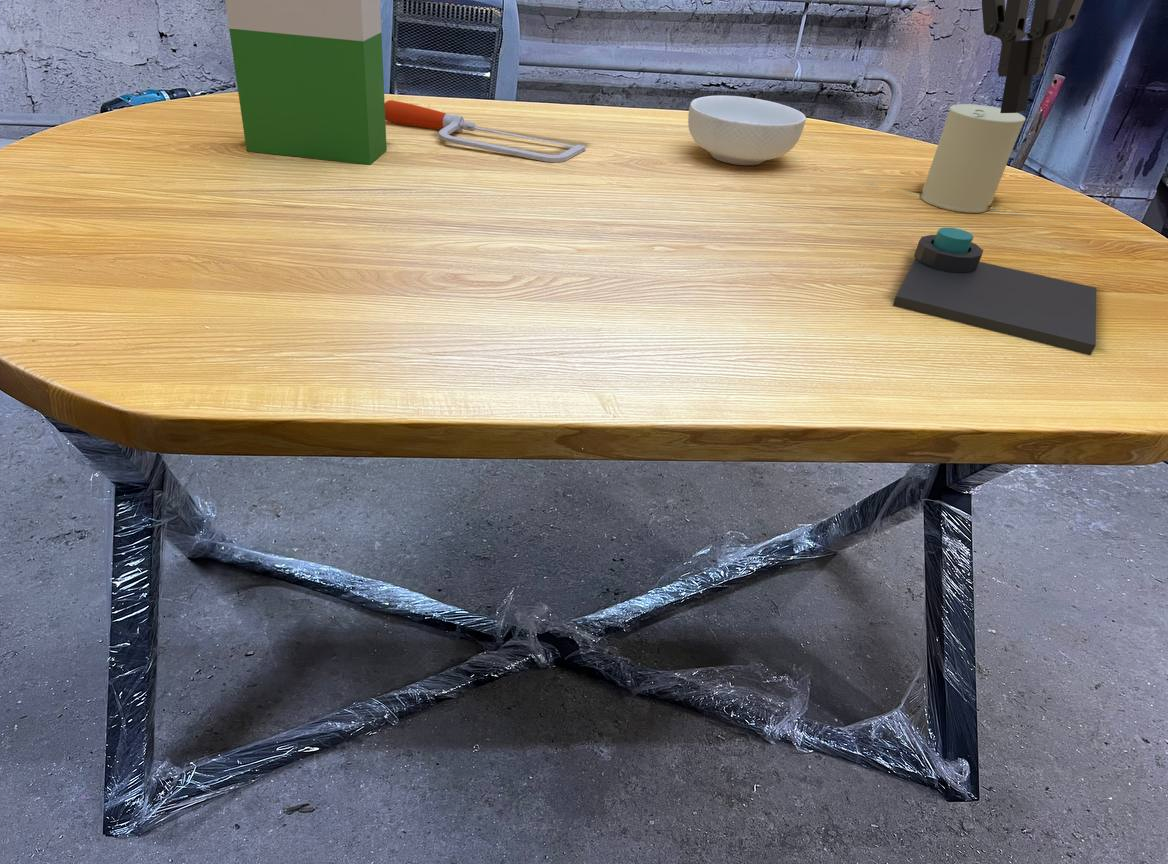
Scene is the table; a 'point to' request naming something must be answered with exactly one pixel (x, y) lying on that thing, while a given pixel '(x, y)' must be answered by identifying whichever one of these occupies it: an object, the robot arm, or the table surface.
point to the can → (971, 157)
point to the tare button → (953, 240)
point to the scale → (999, 298)
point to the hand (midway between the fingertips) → (1013, 111)
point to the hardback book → (310, 77)
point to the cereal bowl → (744, 128)
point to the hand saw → (456, 123)
